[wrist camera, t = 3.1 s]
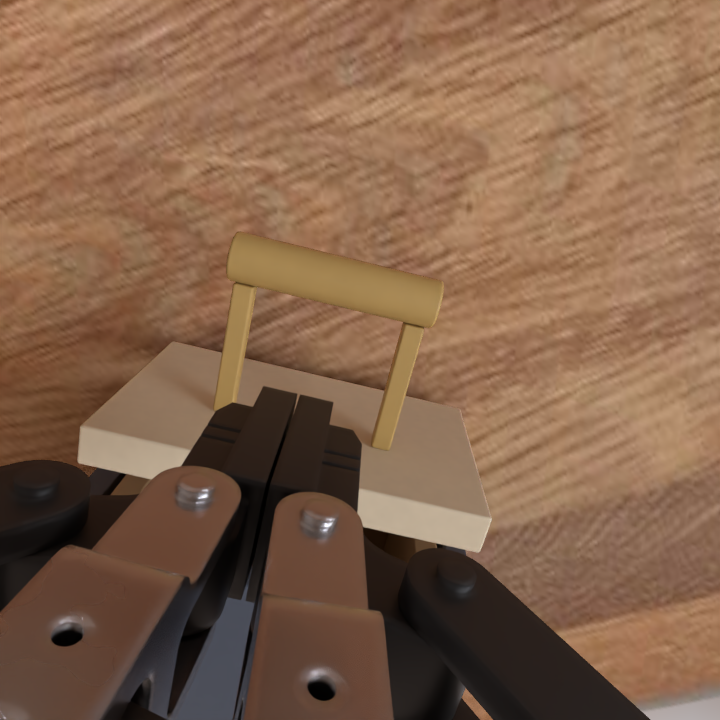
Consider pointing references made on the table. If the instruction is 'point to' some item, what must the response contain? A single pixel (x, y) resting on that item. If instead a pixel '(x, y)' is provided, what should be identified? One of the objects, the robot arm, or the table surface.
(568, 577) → the table surface
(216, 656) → the cabinet
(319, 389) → the drawer
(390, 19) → the table surface
